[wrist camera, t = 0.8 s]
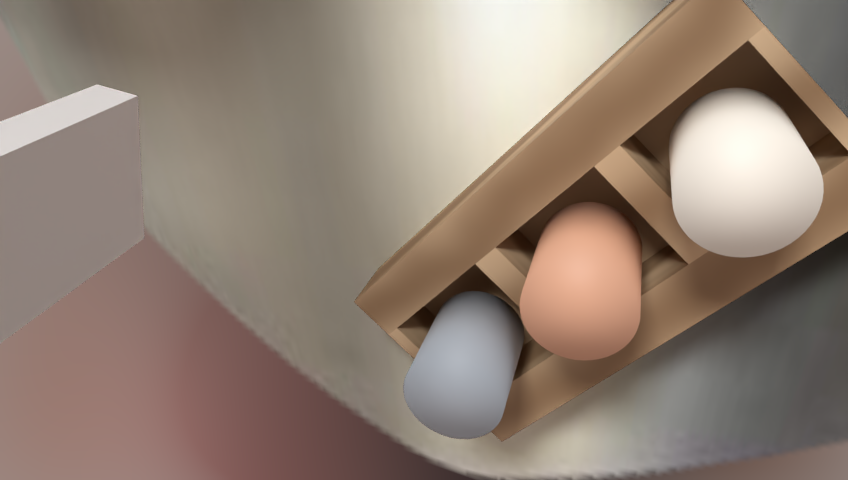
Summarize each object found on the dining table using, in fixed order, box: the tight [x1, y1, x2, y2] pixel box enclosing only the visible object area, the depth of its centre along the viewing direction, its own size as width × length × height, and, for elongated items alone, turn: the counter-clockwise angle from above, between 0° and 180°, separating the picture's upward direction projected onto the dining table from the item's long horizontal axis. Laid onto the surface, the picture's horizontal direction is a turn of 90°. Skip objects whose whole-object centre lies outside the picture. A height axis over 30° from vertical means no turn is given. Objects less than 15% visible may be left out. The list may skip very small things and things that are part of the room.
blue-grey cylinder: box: [404, 291, 524, 439], centre depth 35 cm, size 5×5×6 cm
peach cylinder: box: [520, 202, 642, 361], centre depth 31 cm, size 5×5×6 cm
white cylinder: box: [669, 88, 824, 257], centre depth 27 cm, size 5×5×6 cm
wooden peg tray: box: [354, 0, 848, 441], centre depth 35 cm, size 12×24×4 cm, turn 138°
